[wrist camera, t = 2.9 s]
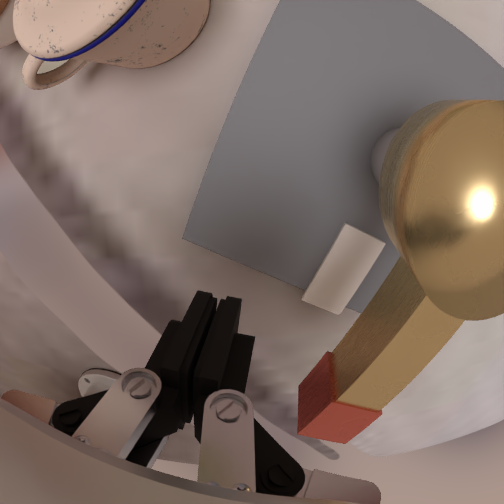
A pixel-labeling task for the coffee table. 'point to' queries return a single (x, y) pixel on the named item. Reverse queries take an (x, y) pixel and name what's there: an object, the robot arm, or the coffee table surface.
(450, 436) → the coffee table surface
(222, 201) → the plate
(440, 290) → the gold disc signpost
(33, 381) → the coffee table surface
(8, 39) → the lidded jar
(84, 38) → the teacup with lid
